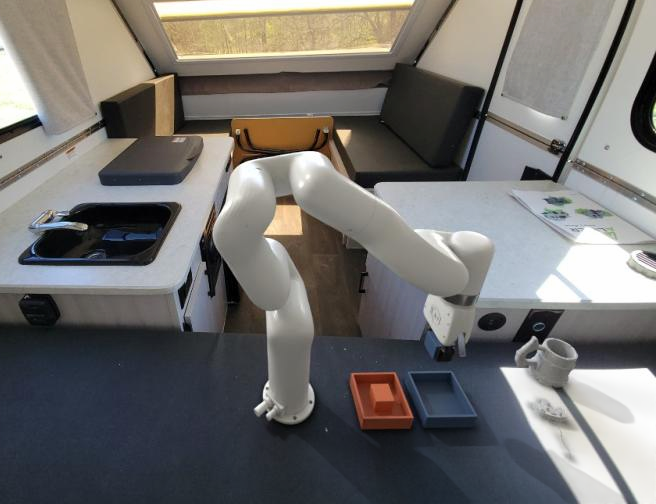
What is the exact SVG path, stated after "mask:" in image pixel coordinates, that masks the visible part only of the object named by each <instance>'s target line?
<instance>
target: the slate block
mask: <svg viewBox="0 0 656 504" xmlns="http://www.w3.org/2000/svg"><path fill="white" fill-rule="evenodd" d="M427 331H428V330H427ZM425 338H426V339H425ZM425 338H424V342H423V344H424V347H425V348H426V351H427V352H428V354H429V356H430V358H431V359H432V360H433V361H435V360H436V359H435V358H436V355H437V352H438V349H439V348H440V347H441V346H442V343H441V342H440V341H439V340H438V338H437V336H436V335H435V333H434V331H428V332H426V335H425ZM451 346H452V345H451Z"/></svg>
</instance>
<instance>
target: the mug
mask: <svg viewBox="0 0 656 504" xmlns="http://www.w3.org/2000/svg"><path fill="white" fill-rule="evenodd" d="M535 351H536V353H535V355H534V356H533V357H531V358H526V357H527V355H528V354H530V353H533V352H535ZM578 359H579V354H578V352H577V351H576V349H575V348H574V347H573V346H572V345H571V344H569V343H568V342H566V341H564V340H562V339H559V338H554V337H549V338H545V339H544V341H543V343H542V344H540V342H539V339H538V338H537V337H536V336H535V335H532V336H531V338H530V340H529V341H527V342H526V343H525V344H524V345H522V346H521V347H520V348H519V349H517V350H516V352H515V355H514V361H515V364H516V366H517V368H519V369H520V368H526V367H528V370H529V372H530V374H531V376H532V377H533V378H534V379H536V380H537V381H539V383H541V384H543V385H545V386H547V387H550V388H552V387H553V388H562V387H564V386H565V385H567V383H568V382H569V379H570V377H569V376H570V374H571V372H572V371H574V369H575V368H576V363H577V360H578Z"/></svg>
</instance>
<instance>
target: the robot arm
mask: <svg viewBox="0 0 656 504" xmlns="http://www.w3.org/2000/svg"><path fill="white" fill-rule="evenodd" d="M285 196H293V198H294V201H295V203H296V204H297V206H298V207H299V208H300V209H301V210H302V211H303V212H305V213H306V214H308V215H309V216H311V217H313V218H315V219H317V220H318V221H320V222H322V223H324V224H325V225H327V226H329V227H331V228H333V229H334V230H336V231H338V232H340V233H342V234H344V235H345V236H346V237H348V238H350V239H352V240H353V241H355V242H357V243H358V244H360V246H362V247H363V248H364V249H365V250H366V251H367V252H368V253H370V254H371V255H372V256H373V257H375V258H376V259H377V260H378V261H379V262H380V263H382V264H383V265H384V266H385V267H387V268H388V269H389V270H390V271H392V272H393V273H394V274H395V275H396V276H398V277H399V278H400V279H402V280H403V281H406V283H408V284H410V285H411V286H412V287H413V286H414V287H415V288H416V289H419V290H420V291H422V292H424V293H426V294H428V295H427V298H426V301H425V303H424V306H423V315H424V318H425V319H426V322H427V327H428V329H427V332H428V331H434V333H435V335H436V336H437V338H438V340H439V341H440V342H441V343H442V346H441V347H440V348H439V349H438V352H437V355H436V358H435V359H434V360H435V361H436V362H437V363H449V362H451V361H452V360H453V357H454V356H456V357H457V358H466V357H467V353H466V345H467V343H468V341H469V340H470V337H471V334H472V331H473V327H474V323H475V318H476V317H475V316H476V309H477V307H476V305H477V303H478V301H479V298H480V295H481V293H482V290H483V287H484V284H485V281H486V279H487V276H488V274H489V271H490V267H491V265H492V262H493V259H494V257H495V253H496V246H495V244H494V242H493V241H492V240H491V239H490V238H489V237H488V236H486V235H484V234H482V233H479V232H476V231H471V230H459V231H455V232H450V231H443V230H436V229H428V228H416V229H413V227H412V226H410V224H409V223H408V222H407V221H406V220H405V219H404V218H403V217H402V216H401V214H399V213H398V212H397V210H395V209H394V208H393V207H392V206H391V205H390V204H389V203H388V202H386V201H385V200H383V199H382V198H380V197H379V196H377V195H376V194H374V193H372V192H370V191H369V190H367V189H366V188H364V187H362V186H361V185H359V184H357V182H354V181H353V180H352V179H350V178H348V177H346V176H345V175H343V174H342V173H340V171H338V170H336V168H335V166H334V165H333V163H332V161H331V159H330V158H328V156H326V155H325V154H323V153H321V152H318V151H299V152H291V153H286V154H285V153H284V154H280V155H275V156H269V157H262V158H257V159H252V160H247V161H245V162H243V163H241V164H239V165H237V166H236V167H235V168H234V170H233V171H232V173H231V174H230V176H229V179H228V185H227V193H226V199H225V203H224V205H223V207H222V209H221V211H220V213H219V215H218V216H217V218H216V220H215V221H214V224H213V228H212V240H213V244H214V246H215V248H216V250H217V251H218V253H219V254H220V256H221V257H222V259H223V261H224V262H225V263H226V264H227V266H228V268H229V269H230V271H231V273H232V274H233V275H234V277H235V279H236V281H237V282H238V283H239V285H240V286H241V288H242V289H243V291H244V292H245V294H246V295H247V297H248V299H249V300H250V301H251V302H252V303H253V304H254V305H255V306H256V307H257V308H258V309H260V310H263V311H265V321H266V322H265V324H266V343H267V345H266V346H267V369H268V370H267V371H268V372H267V373H268V380H267V381H266V383H265V384H264V388H263V391H262V402H261V403H259V404H258V405H257V406H256V407H255V408H253V412H254V414H255V415H256V417H258V418H259V417H262V415H263V414H264V413H265V412H267V413H266V414H265V418H266V420H267V421H269V422H270V421H271V420H272V419H273V420H275V421H276V422H278V423H281V424H284V425H297V424H299V423H303V422H304V421H305V420H307V419H308V418H309V416H310V415H311V414H312V412H313V409H314V408H315V407H314V406H315V392H314V389H313V387H312V385H311V383H310V371H311V370H310V369H311V353H312V351H311V350H312V345H313V341H314V337H315V326H314V318H313V315H312V314H313V313H312V310H311V304H310V303H309V298H308V293H307V289H306V285H305V282H304V280H303V278H302V276H301V274H300V273H299V270H298V269H297V267H296V266H295V264H294V262H293V260H292V258H291V257H290V255H289V254H290V253H288V251H287V249H286V248H285V246H284V245H283V244H282V243H280V242H279V241H277V240H276V239H273V238H270V237H265V236H264V234H265V232H266V231H267V229H268V228H269V226H271V223H272V222H273V220H274V217H275V215H276V213H277V212H276V211H277V198H280V197H285ZM427 332H426V333H427ZM425 339H426V337H425V338H424V340H425ZM451 345H452V346H451Z"/></svg>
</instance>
